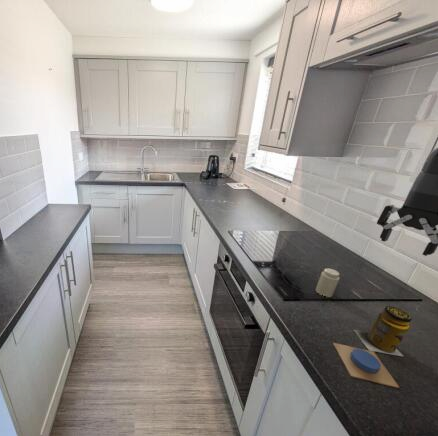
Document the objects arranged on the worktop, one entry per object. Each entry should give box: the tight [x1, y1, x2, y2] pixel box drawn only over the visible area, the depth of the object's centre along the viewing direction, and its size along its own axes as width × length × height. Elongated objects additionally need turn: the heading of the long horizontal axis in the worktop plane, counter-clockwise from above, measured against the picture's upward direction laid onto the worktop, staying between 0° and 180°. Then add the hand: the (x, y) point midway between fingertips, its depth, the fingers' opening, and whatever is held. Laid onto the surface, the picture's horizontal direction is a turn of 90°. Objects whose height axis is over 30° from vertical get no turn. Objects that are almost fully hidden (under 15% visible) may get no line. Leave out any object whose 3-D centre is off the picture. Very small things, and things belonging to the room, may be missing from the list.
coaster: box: [332, 342, 400, 389], centre depth 61 cm, size 10×10×1 cm
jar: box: [314, 267, 340, 298], centre depth 87 cm, size 5×5×10 cm
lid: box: [350, 348, 381, 374], centre depth 61 cm, size 6×6×2 cm
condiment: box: [353, 305, 412, 357], centre depth 66 cm, size 7×8×12 cm
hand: (403, 247), depth 64 cm, fingers open, 8 cm apart
